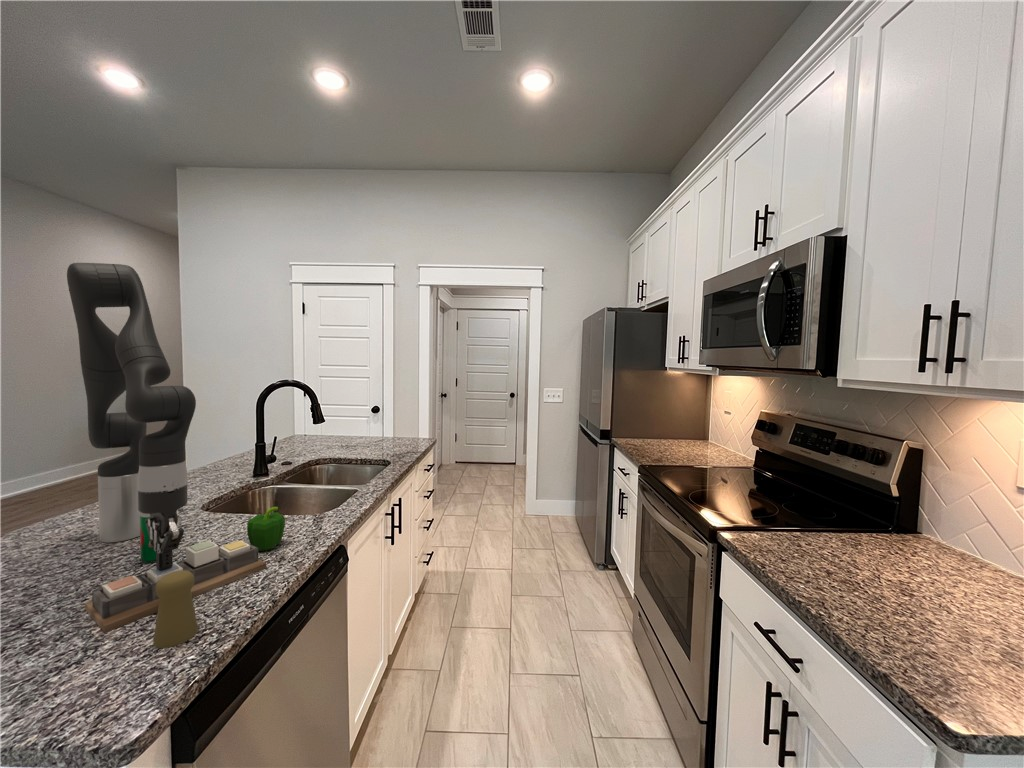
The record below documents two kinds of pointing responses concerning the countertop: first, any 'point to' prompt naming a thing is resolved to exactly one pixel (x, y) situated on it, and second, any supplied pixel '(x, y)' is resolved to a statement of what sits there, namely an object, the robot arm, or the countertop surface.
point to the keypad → (147, 601)
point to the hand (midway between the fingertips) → (164, 568)
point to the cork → (175, 610)
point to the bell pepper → (266, 529)
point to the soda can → (145, 542)
